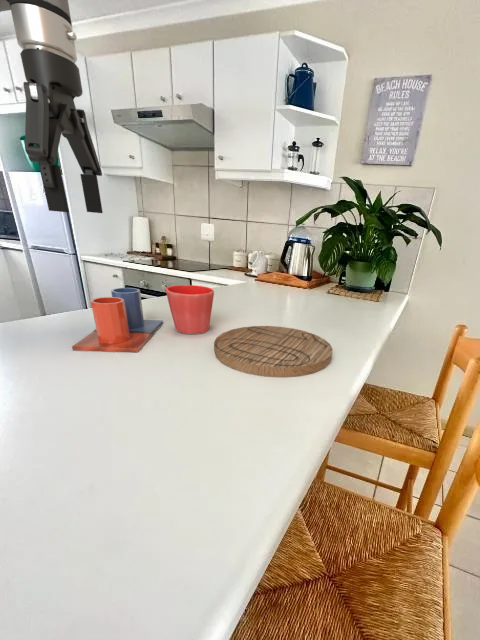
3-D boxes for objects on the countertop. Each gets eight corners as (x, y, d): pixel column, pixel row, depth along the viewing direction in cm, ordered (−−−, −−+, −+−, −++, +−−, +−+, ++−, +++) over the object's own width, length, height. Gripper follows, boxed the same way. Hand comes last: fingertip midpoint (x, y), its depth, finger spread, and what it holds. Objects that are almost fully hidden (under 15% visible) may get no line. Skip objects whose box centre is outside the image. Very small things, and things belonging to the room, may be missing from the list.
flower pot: (224, 328, 81) (223, 289, 77) (193, 340, 72) (191, 296, 68) (191, 320, 85) (189, 282, 81) (159, 330, 76) (154, 288, 72)
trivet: (247, 327, 83) (247, 320, 83) (342, 345, 76) (343, 337, 76) (189, 359, 62) (188, 350, 61) (312, 388, 55) (314, 378, 54)
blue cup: (112, 328, 73) (106, 292, 69) (122, 320, 78) (117, 287, 74) (139, 329, 73) (134, 293, 70) (147, 322, 79) (143, 288, 75)
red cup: (93, 343, 64) (84, 303, 60) (105, 333, 69) (98, 296, 65) (124, 344, 65) (117, 304, 61) (133, 335, 70) (128, 297, 66)
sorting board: (72, 350, 62) (71, 345, 62) (112, 321, 80) (112, 317, 79) (137, 352, 63) (137, 348, 63) (162, 323, 81) (162, 319, 81)
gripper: (25, 17, 39) (65, 213, 49) (107, 89, 61) (124, 214, 71) (-43, 6, 38) (11, 208, 48) (65, 83, 60) (87, 211, 70)
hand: (78, 212), depth 59 cm, fingers open, 13 cm apart
